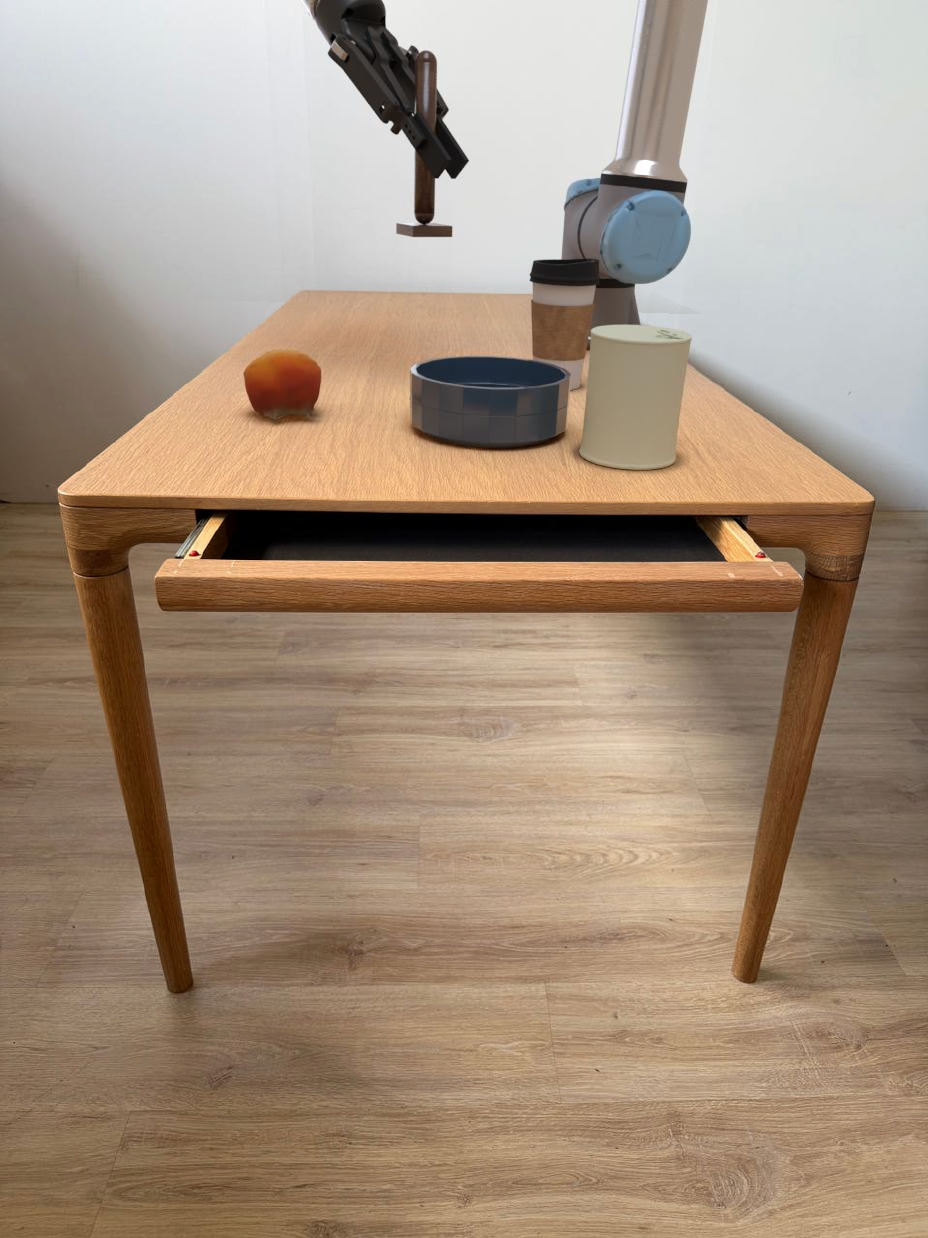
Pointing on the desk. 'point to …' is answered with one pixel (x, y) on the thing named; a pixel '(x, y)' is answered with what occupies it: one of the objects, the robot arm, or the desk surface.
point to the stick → (422, 176)
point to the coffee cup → (563, 312)
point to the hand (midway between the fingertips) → (451, 168)
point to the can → (634, 396)
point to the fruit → (283, 383)
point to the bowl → (489, 400)
